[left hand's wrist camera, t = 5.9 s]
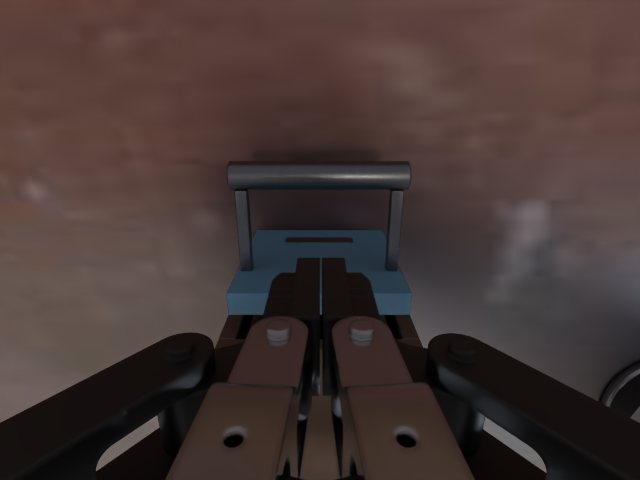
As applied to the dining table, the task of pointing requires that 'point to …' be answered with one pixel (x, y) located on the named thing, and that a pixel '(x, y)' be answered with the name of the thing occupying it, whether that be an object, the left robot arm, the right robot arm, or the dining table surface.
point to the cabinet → (319, 440)
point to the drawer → (318, 232)
